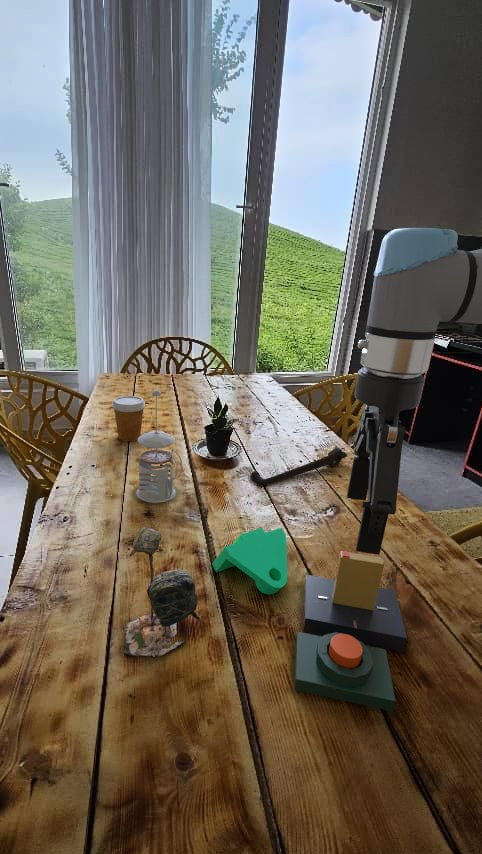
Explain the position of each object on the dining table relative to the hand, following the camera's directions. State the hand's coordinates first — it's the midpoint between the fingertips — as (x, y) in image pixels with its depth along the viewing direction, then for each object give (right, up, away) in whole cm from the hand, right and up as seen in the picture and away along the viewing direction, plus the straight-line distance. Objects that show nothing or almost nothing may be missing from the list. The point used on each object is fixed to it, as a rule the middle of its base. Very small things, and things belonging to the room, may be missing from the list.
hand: (361, 522), depth 61 cm
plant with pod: (-28, -17, +3) cm, 33 cm away
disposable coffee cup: (-44, +11, +72) cm, 85 cm away
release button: (-3, -17, -3) cm, 18 cm away
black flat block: (+1, -17, +8) cm, 18 cm away
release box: (-3, -20, -2) cm, 21 cm away
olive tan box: (+1, -14, +7) cm, 15 cm away
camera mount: (-15, -7, +18) cm, 24 cm away
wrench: (+4, +2, +56) cm, 56 cm away
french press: (-32, -2, +41) cm, 52 cm away
